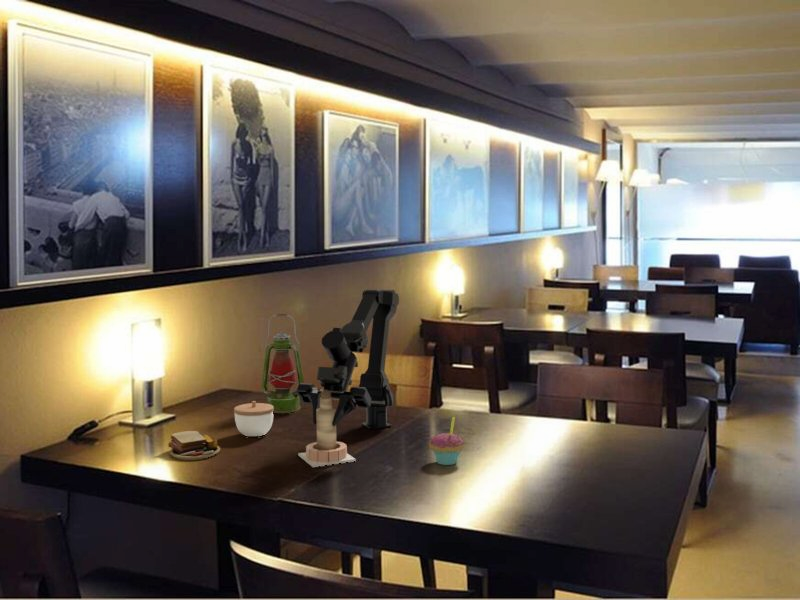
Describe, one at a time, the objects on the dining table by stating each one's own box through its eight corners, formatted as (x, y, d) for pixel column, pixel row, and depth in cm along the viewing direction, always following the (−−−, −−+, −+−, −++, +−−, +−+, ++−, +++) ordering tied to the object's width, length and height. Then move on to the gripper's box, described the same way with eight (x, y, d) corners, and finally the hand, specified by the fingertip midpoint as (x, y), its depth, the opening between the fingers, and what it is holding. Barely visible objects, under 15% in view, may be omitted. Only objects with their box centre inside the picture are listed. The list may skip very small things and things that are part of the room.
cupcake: (467, 459, 206) (467, 411, 205) (458, 469, 198) (458, 419, 197) (434, 456, 209) (434, 408, 208) (424, 465, 201) (424, 416, 200)
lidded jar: (282, 434, 230) (281, 401, 229) (250, 442, 223) (249, 407, 222) (258, 428, 238) (257, 395, 237) (226, 435, 230) (225, 401, 229)
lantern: (256, 413, 255) (253, 315, 252) (267, 405, 266) (265, 311, 263) (299, 414, 253) (298, 316, 250) (310, 406, 263) (308, 312, 260)
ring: (298, 455, 210) (298, 443, 210) (339, 450, 215) (339, 438, 214) (312, 467, 200) (312, 454, 200) (355, 461, 205) (355, 449, 204)
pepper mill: (316, 448, 209) (315, 387, 208) (336, 448, 210) (335, 387, 208) (317, 454, 205) (316, 392, 203) (337, 453, 205) (335, 391, 203)
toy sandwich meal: (177, 464, 204) (177, 445, 203) (162, 451, 215) (162, 433, 215) (227, 456, 210) (226, 438, 210) (210, 444, 222) (209, 426, 221)
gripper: (298, 351, 212) (278, 404, 202) (366, 355, 205) (349, 409, 196) (312, 376, 220) (294, 427, 211) (378, 380, 213) (362, 434, 204)
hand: (323, 424), depth 205 cm, fingers closed on pepper mill, 5 cm apart
